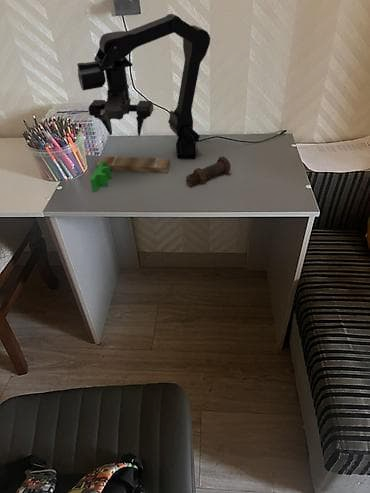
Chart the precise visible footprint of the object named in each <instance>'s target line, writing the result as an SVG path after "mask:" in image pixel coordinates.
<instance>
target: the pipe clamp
mask: <svg viewBox="0 0 370 493" xmlns="http://www.w3.org/2000/svg"><path fill="white" fill-rule="evenodd" d="M112 178H113V177H112V171H110V166H105V161H101V163H100V164H99V166H98V168H96V169H95V171H94V172H93V174H92V175H91V177H90V179H89V180H90V185H91V188H92V192H93V193H94V192H97V191H98V190H99V189H100V187H103V188H105V187H106V188H107V187H109V185H108V180H112Z"/></svg>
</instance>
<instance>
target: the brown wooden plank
mask: <svg viewBox="0 0 370 493" xmlns="http://www.w3.org/2000/svg"><path fill="white" fill-rule="evenodd" d="M101 161H105V166H110V171H111V172H129V173H133V172H135V173H150V174H151V173H152V174H153V173H156V174H168V172H169V169H170V166H171V158H163V157H162V158H160V157H136V156H135V157H133V156H130V157H129V156H110V155H109V156H108V155H107V156H106V155H105V156H104V155H101V156H100V158H99V159H98V161H97V163H96V165H95V167H96V169H97V168H98V166H99V164H100V163H101Z"/></svg>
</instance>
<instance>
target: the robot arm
mask: <svg viewBox="0 0 370 493" xmlns="http://www.w3.org/2000/svg"><path fill="white" fill-rule="evenodd" d="M172 34H176V35H177V36H178V37H180V38H182V39H183V40H182V48H183V49H182V50H183V55H184V64H183V68H182V69H183V70H182V75H181V76H182V77H181V81H180V88H179V94H178V100H177V106H176V108H175V109H174V111H173V110H170V111H169V120H167V123H168V124H169V129H171V131H172V132H173V133H174V134H175V135H176V136H177V140H176V142H175V150H176V151H175V152H176V153H175V154H176V155H177V156H176V157H177V159H184V160H185V159H187V160H189V159H190V160H195V159H196V158H197V153H198V148H197V146H198V144H197V143H198V142H199V140H200V134H199V133H198V132H197V131H196V130H195V129H194V119H193V111H192V109H193V104H194V98H195V93H196V87H197V82H198V77H199V73H200V72H199V71H200V67H201V62H202V61H203V60H204V59H205V57H206V55H207V52H208V50H209V47H210V44H211V36H210V33H209V32H208V31H207V30H205V29H203V28H201V27H200V26H199V27H198V26H197V25H195V24H194V25H191V24H188V23H187V22H186V21H184V20H182V18H181V17H179V16H178V15H176V14H173V13H168V14H167V15H166V16H164V17H161V18H158V19H156V20H153V21H151V22H149V23H146V24H142V25H141V26H138V27H135V28H132V29H130V30H125V31H124V30H123V31H112V32H106V33H103V35H102V36H100V39H99V43H98V45H99V46H98V47H99V48H98V50H97V52H96V55H95V57H94V61H90V62H89V61H88V62H78V63H77V73H78V74H77V78H78V82H79V86H80V89H81V90H82V91H89V90H95V89H100V88H103V86H105V84H107V88H108V89H107V91H106V93H107V99H106V100H105V99H94V100H93V101H92V102H91V104H89V106H88V114H89V116H91V117H94V119H98V120H100V121H101V122H102V124H103V125H104V127H105V129H106V131H107V132H108V134H109V135H110V136H112V134H113V128H112V120H118V121H119V120H123V118H124V116H125V115H129V114H130V113H131V112H133V113H134V112H135V114H136V122H137V135H138V137H140V136H141V133H142V129H143V124H144V121H145V120H146V119H147V118H149V117H151V116H152V114H153V111H154V104H153V102H152V100H139V102H138V103H137V104H131V98H130V93H129V89H130V85H129V84H128V78H127V71H126V68H128V67H133V63H132V62H131V61H130V60H129V59H127V56H130V54H131V52H133V51H134V50H135V49H136V48H138V47H142V46H143V45H146V44H149V43H151V42H154V41H156V40H159V39H161V38H163V37H166V36H170V35H172Z"/></svg>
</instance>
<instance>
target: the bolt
mask: <svg viewBox="0 0 370 493" xmlns="http://www.w3.org/2000/svg"><path fill="white" fill-rule="evenodd" d="M231 167H232V166H231V163H230V161H229V159H228V158H227V157H225V156H219V157H218V159H217V161H216V162H215V163H214V164H211V165H209V166H206V167H205V168H201V167H196V168H195V169H194V170H193V172H192V173H190V174H187V175H186V177H185V179H186V180H185V182H186V184H188V185H189V186H192V185H194V184H197V183H198V184H199V185H201V184H203V183H205V182H206V180H207V179H208V178H211V177H213V176H214V175H218V174H220V173H222V172H223V173H222V174H224V175H227V174H228V173H230V171H231Z"/></svg>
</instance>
